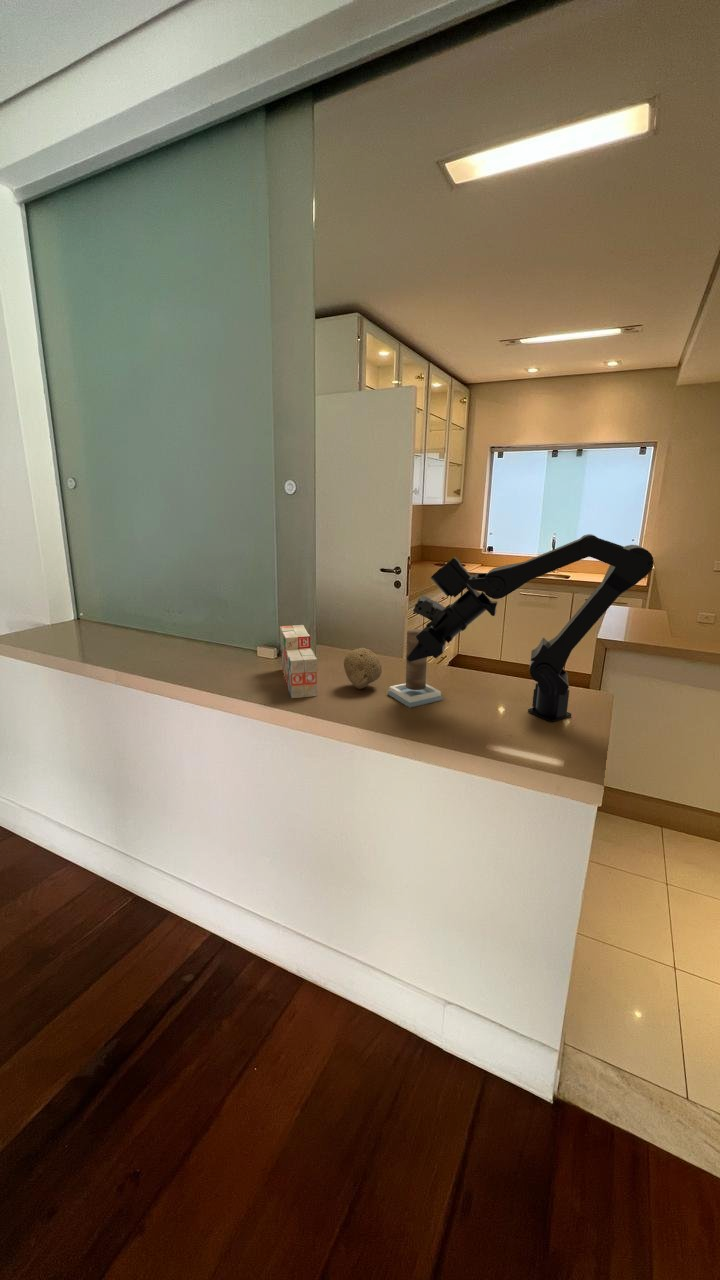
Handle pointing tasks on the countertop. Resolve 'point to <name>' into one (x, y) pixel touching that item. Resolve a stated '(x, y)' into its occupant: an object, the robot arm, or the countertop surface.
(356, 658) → the natural sponge
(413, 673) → the walnut column
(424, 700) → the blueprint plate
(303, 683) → the stack of blocks
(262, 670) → the countertop surface
